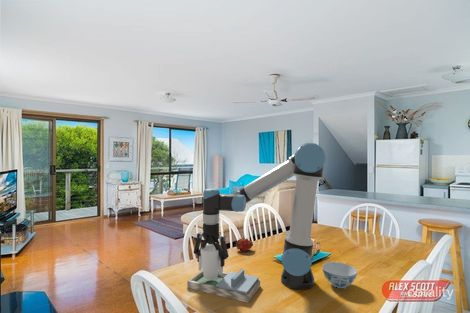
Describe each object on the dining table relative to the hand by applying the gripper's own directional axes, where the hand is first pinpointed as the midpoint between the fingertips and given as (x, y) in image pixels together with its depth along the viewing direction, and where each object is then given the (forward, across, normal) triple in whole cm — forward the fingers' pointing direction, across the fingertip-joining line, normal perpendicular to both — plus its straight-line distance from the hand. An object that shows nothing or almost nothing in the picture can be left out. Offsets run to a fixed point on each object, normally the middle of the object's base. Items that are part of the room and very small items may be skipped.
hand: (210, 271), depth 125 cm
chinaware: (+6, -54, -24) cm, 59 cm away
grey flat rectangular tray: (+6, -7, 0) cm, 9 cm away
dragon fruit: (+6, +2, -47) cm, 47 cm away
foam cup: (+3, 0, 0) cm, 3 cm away
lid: (+2, -14, 0) cm, 14 cm away
